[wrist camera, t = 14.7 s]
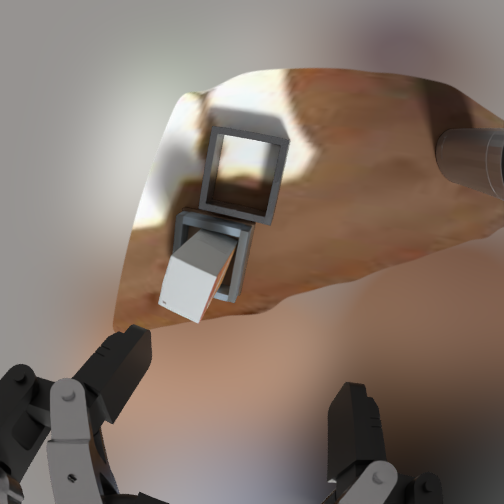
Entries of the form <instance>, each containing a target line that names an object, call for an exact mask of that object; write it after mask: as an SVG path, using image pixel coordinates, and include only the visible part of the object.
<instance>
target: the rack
mask: <svg viewBox="0 0 504 504" xmlns="http://www.w3.org/2000/svg"><path fill="white" fill-rule="evenodd" d="M255 224H256V223H253V222H249V221H245V220H241V219H236V218H232V217H228V216H223V215H219V214H215V213H210V212H206V211H201V210H197V209H192V208H188V207H184V208H183V209H182V212H181V213H179V214H178V215H176V223H175V234H174V245H173V253H174V252H175V251H177V250H178V249H179V248H180V247H181V246H182V245H183V244H184V243H185V242H187V241H188V240H189V239H190V238H191V237H192V236H193V235H195V234H196V233H197V232H198V231H199V230H200V229H201V228H203V229H207V230H211V231H215V232H219V233H222V234H224V235H226V236H229V237H231V238H233V239H235V240H238V241H239V242H238V245H237V247H236V249H235V252H234V254H233V256H232V259H231V261H230V264H229V266H228V268H227V271H226V274H225V276H224V279H223V281H222V283H221V285H220V287H219V289H218V290H217V292H216V294H215V295H214V297H213V298H216V299H220V300H224V301H229V302H233V303H235V300H236V298H237V296H238V295H239V296H240V294H241V290H242V285H243V280H244V276H245V271H246V266H247V261H248V257H249V252H250V247H251V243H252V238H253V233H254V228H255Z"/></svg>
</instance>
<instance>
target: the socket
mask: <svg viewBox="0 0 504 504" xmlns="http://www.w3.org/2000/svg"><path fill="white" fill-rule="evenodd" d="M224 135H229V136H235V137H241V138H247V139H252V140H257V141H262V142H267V143H272V144H277V145H281V147H280V152H279V157H278V161H277V166H276V170H275V175H274V179H273V184H272V189H271V193H270V198H269V202H268V207H267V211H262V210H258V209H254V208H250V207H245V206H241V205H236V204H232V203H227V202H223V201H218V200H214V199H213V195H214V189H215V183H216V177H217V171H218V166H219V160H220V155H221V149H222V144H223V139H224ZM289 145H290V140H287V139H283V138H278V137H273V136H268V135H263V134H258V133H253V132H247V131H242V130H236V129H229V128H223V127H216V126H212V131H211V136H210V141H209V147H208V152H207V158H206V164H205V170H204V176H203V182H202V189H201V195H200V202H199V209H202V210H206V211H211V212H215V213H220V214H224V215H228V216H233V217H237V218H241V219H245V220H250V221H254V222H258V223H262V224H266V225H271V223H272V220H273V216H274V212H275V207H276V203H277V199H278V194H279V190H280V186H281V181H282V177H283V172H284V168H285V163H286V159H287V154H288V150H289Z"/></svg>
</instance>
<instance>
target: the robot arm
mask: <svg viewBox="0 0 504 504" xmlns="http://www.w3.org/2000/svg"><path fill="white" fill-rule="evenodd" d="M436 159H437V164H438V166H439V169H440V171H441V172H442V174H443V175H444V176H445V177H446V178H447V179H448V180H449V181H451V182H453V183H457V184H460V185H463V186H465V187H468V188H471V189H474V190H477V191H480V192H483V193H486V194H488V195H491V196H494V197H496V198H499V199H501V200H504V128H462V129H450V130H447V131H445V132H444V133H443V134H442V135H441V136H440V138H439V140H438V142H437V146H436ZM151 360H152V348H151V332H150V330H147V329H145V328H142V327H139V326H137V325H134V324H133V325H131V326H130V327H129V328H128V329H127V330H126V332H125V333H121V332H119V331H118V332H117V333H115V334H113V335H111V336H109V337H108V338H107V339H106V340H105V341H104V342H103V343H102V344H101V347H99V348H98V349H97V350H96V351H95V353H93V355H92V356H91V357H90V358H89V359H88V360H87V361H86V363H85V364H84V365H83V366H82V367H81V368H80V370H79V371H78V372H77V373H76V374H75V375H74V377H72V378H63V379H60V380H58V381H56V382H52V381H49V380H46V379H42V378H39V377H36V375H35V373H34V371H33V370H32V369H31V368H30V367H29V366H27V365H24V364H19V365H15V366H13V367H12V368H11V369H10V370H9V371H8V372H7V373H6V374H5V375H4V376H3V378H2V379H1V380H0V504H21V503H22V501H23V500H24V495H23V491H22V488H21V485H20V482H21V480H22V478H23V476H24V474H25V473H26V471H27V469H28V467H29V466H30V464H31V462H32V460H33V459H34V457H35V455H36V454H37V452H38V450H39V449H40V447H41V445H42V444H43V442H44V440H45V439H46V437H47V436H48V434H49V432H50V431H51V435H52V437H51V440H49V441H48V442H47V458H48V466H49V472H50V478H51V484H52V489H53V494H54V499H55V504H169V503H166V502H164V501H161V500H158V499H156V498H153V497H150V496H148V495H146V494H143V493H141V492H139V494H138V496H137V495H130V494H120V493H119V490H118V487H117V484H116V481H115V478H114V476H113V473H112V471H111V469H110V466H109V462H108V459H107V454H106V449H105V445H104V440H103V435H102V430H101V425H102V424H103V422H104V421H107V422H109V423H111V424H113V423H114V422H115V420H116V419H117V417H118V416H119V414H120V412H121V411H122V409H123V408H124V406H125V404H126V403H127V401H128V400H129V398H130V397H131V395H132V393H133V392H134V390H135V389H136V387H137V385H138V384H139V382H140V381H141V379H142V378H143V376H144V374H145V373H146V371H147V370H148V368H149V366H150V363H151ZM381 427H382V425H381V420H380V414H379V408H378V406H377V404H376V403H375V401H374V399H373V398H371V397H367V393H366V388H365V385H364V384H359V383H351V382H346V383H345V384H344V385H343V386H342V388H341V390H340V391H339V392H338V394H337V395H336V397H335V398H334V400H333V401H332V403H331V405H330V407H329V411H328V470H327V482H336V489H334V490H333V491H332V493H331V494H330V495H329V496H328V497H327V498H326V499H325V500H324V501H323V502H322V503H321V504H443V497H442V487H441V482H440V479H439V478H438V477H437V476H436V475H435V474H433V473H430V472H427V473H423V474H421V475H419V476H418V477H411V476H407V475H402V474H399V473H397V471H396V469H395V468H394V466H393V465H391V464H390V463H388V462H387V460H386V453H385V445H384V439H383V432H382V429H381Z"/></svg>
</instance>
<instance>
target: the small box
mask: <svg viewBox="0 0 504 504" xmlns="http://www.w3.org/2000/svg"><path fill="white" fill-rule="evenodd" d="M238 242H239V241H238V240H235V239H233V238H231V237H229V236H226V235H224V234H222V233H219V232H215V231H211V230H207V229H203V228H201V229H200V230H199V231H198V232H197V233H196V234H195V235H193V236H192V237H191V238H190V239H189V240H188V241H187V242H185V243H184V244H183V245H182V246H181V247H180V248H179V249H178V250H177V251H175V252H174V253H173V254H172V255H171V257H170V260H169V264H168V267H167V270H166V274H165V277H164V280H163V284H162V289H161V294H160V298H159V302H158V304H159V305H161V306H163V307H165V308H167V309H169V310H171V311H173V312H175V313H177V314H179V315H181V316H183V317H185V318H188V319H190V320H192V321H194V322H196V323H200V321H201V319H202V317H203V315H204V313H205V312H206V310H207V308H208V306H209V304H210V303H211V301H212V299H213V297H214V295H215V294H216V292H217V290H218V289H219V287H220V285H221V283H222V281H223V279H224V276H225V274H226V271H227V268H228V266H229V264H230V261H231V259H232V256H233V254H234V252H235V249H236V247H237V245H238Z"/></svg>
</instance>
